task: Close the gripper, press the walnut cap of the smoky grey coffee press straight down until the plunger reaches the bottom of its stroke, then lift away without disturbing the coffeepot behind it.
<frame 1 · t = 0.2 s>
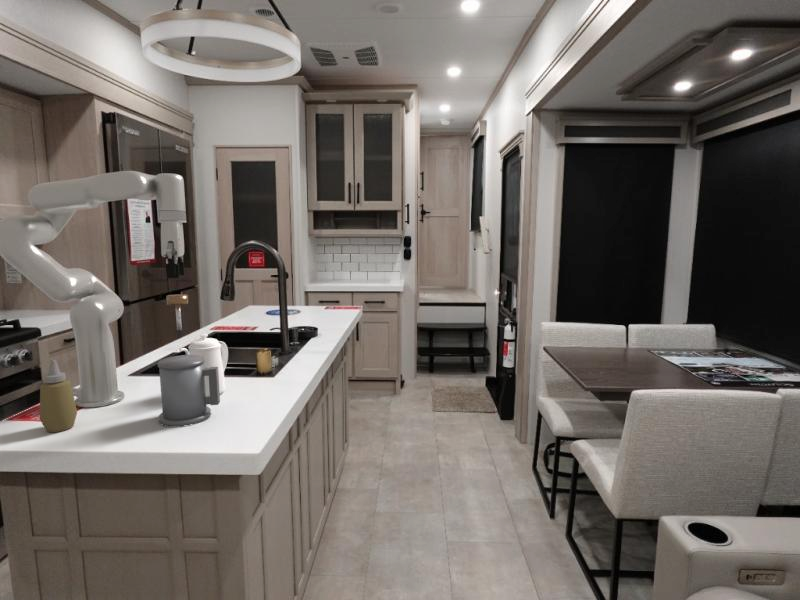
hand: (176, 276, 147), 37 cm above the worktop, tool pointing down, fingers open, 9 cm apart
squeeze bottle: (60, 429, 129), on the worktop
plunger: (178, 312, 132), point 29 cm above the worktop, slide at 8.0 cm
coffeepot: (206, 394, 156), on the worktop
press carafe: (185, 417, 136), on the worktop
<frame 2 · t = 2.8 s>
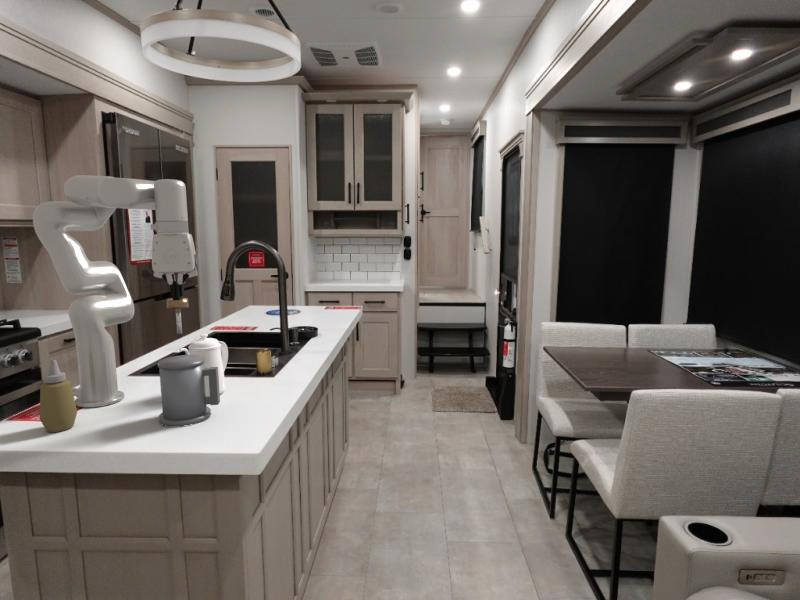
hand: (177, 299, 131), 33 cm above the worktop, tool pointing down, fingers closed
plunger: (178, 316, 132), point 28 cm above the worktop, slide at 7.0 cm, touching gripper
everything else where it was.
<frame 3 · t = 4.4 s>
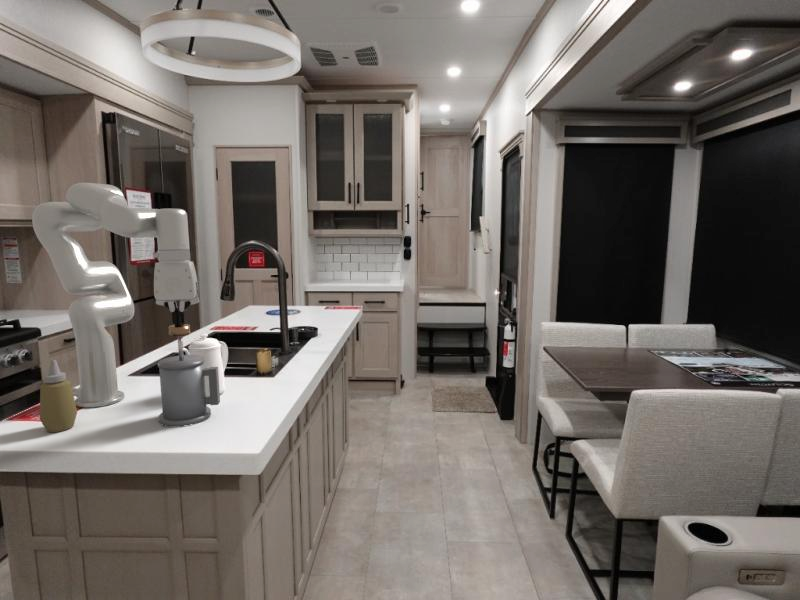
hand: (179, 325, 132), 25 cm above the worktop, tool pointing down, fingers closed
plunger: (180, 342, 133), point 21 cm above the worktop, slide at -0.1 cm, touching gripper
everything else where it was.
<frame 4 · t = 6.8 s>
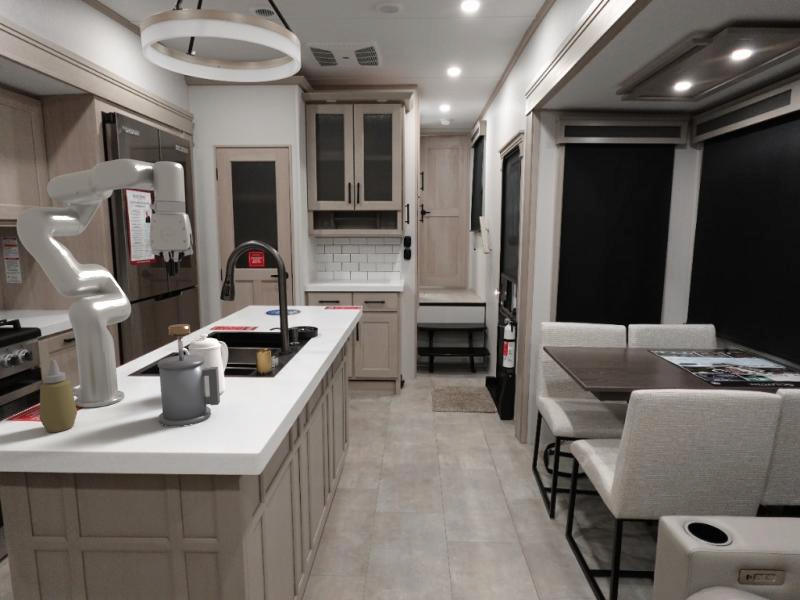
hand: (173, 275, 138), 38 cm above the worktop, tool pointing down, fingers closed
plunger: (180, 342, 133), point 21 cm above the worktop, slide at -0.1 cm
everything else where it was.
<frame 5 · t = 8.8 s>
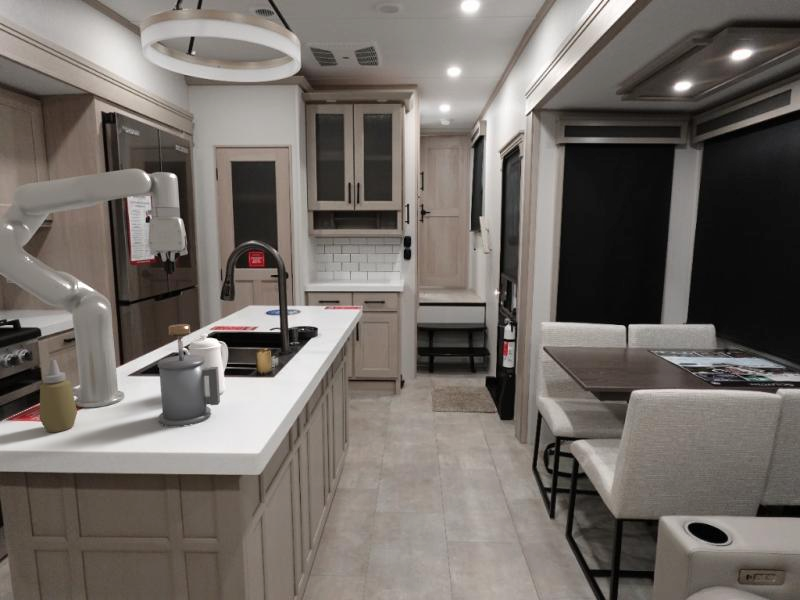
hand: (170, 273, 155), 37 cm above the worktop, tool pointing down, fingers closed
nothing on the worktop moved.
at the end: plunger slide at -0.1 cm; coffeepot moved 0.2 cm from its start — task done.
